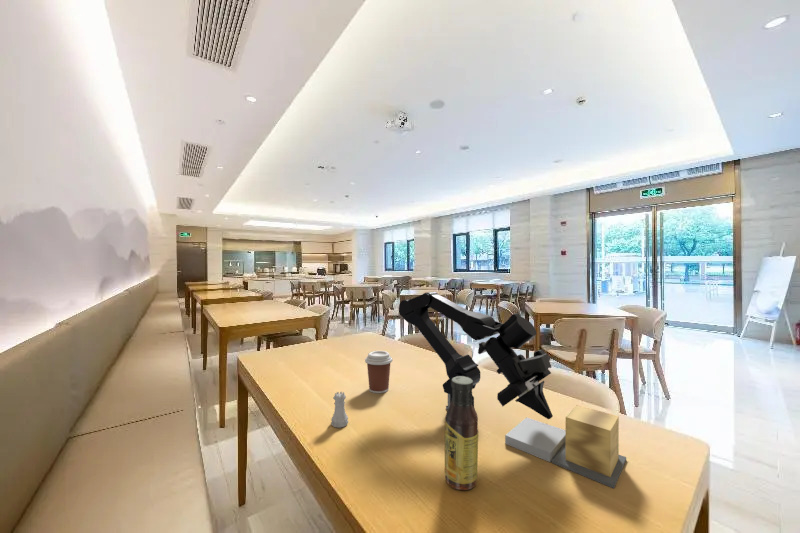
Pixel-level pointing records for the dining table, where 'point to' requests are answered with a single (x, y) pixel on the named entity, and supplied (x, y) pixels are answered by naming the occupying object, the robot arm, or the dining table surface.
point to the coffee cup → (378, 371)
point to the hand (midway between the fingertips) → (550, 418)
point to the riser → (536, 438)
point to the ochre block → (592, 439)
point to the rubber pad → (589, 473)
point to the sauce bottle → (461, 436)
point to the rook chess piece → (339, 411)
